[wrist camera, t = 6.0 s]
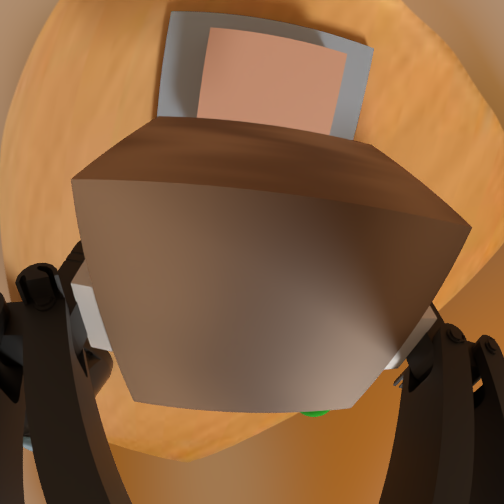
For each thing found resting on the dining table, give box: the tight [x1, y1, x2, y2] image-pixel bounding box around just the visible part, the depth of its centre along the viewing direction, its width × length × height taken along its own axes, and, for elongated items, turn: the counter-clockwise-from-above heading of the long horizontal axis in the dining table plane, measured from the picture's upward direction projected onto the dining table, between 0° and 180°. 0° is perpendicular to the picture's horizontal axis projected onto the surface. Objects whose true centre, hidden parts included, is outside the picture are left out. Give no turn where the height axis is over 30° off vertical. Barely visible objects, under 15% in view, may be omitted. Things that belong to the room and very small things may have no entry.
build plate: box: [157, 11, 374, 140], centre depth 23 cm, size 20×16×6 cm
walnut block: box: [71, 116, 472, 413], centre depth 11 cm, size 9×9×7 cm
